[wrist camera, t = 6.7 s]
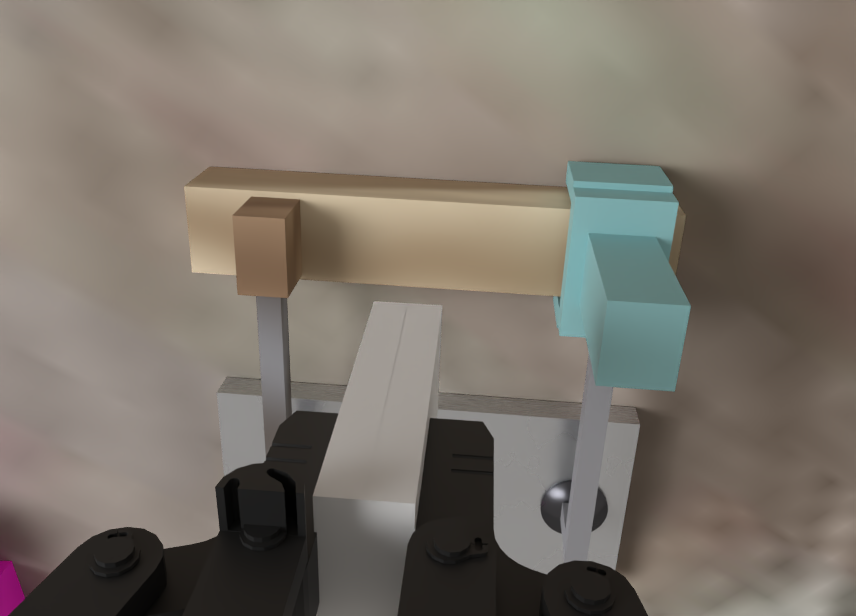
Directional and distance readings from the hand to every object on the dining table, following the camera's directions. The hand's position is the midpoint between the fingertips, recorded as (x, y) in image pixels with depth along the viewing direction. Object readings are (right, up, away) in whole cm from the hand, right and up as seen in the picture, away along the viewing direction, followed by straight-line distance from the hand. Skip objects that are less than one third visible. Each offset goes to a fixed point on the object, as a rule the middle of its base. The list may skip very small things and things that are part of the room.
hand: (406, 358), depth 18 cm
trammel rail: (+1, 0, +13) cm, 13 cm away
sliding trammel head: (+6, 0, +12) cm, 13 cm away
